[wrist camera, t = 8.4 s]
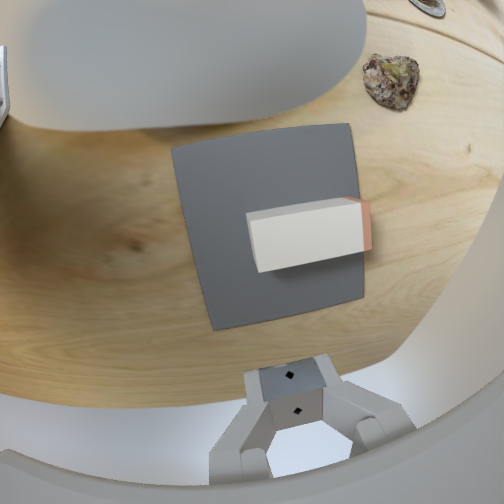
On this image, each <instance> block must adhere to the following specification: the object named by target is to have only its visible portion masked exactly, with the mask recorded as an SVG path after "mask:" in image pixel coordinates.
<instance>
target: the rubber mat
mask: <svg viewBox="0 0 504 504" xmlns="http://www.w3.org/2000/svg"><path fill="white" fill-rule="evenodd" d="M171 153H172V158H173V164H174V169H175V174H176V180H177V185H178V190H179V194H180V199H181V204H182V209H183V213H184V218H185V223H186V227H187V231H188V236H189V240H190V244H191V249H192V253H193V257H194V261H195V265H196V269H197V273H198V277H199V281H200V285H201V288H202V292H203V296H204V300H205V303H206V307H207V310H208V314H209V318H210V321H211V325H212V328H213V331H214V330H220V329H226V328H232V327H237V326H243V325H248V324H253V323H258V322H263V321H268V320H273V319H278V318H282V317H287V316H291V315H296V314H300V313H304V312H309V311H313V310H317V309H321V308H325V307H329V306H333V305H337V304H341V303H345V302H348V301H352V300H356V299H359V298H363V297H364V262H363V251H362V252H357V253H353V254H348V255H344V256H339V257H334V258H330V259H325V260H320V261H315V262H310V263H306V264H301V265H296V266H291V267H286V268H281V269H276V270H271V271H266V272H261V273H259V272H258V269H257V266H256V263H255V260H254V257H253V252H252V246H251V241H250V235H249V229H248V224H247V218H246V213H249V212H255V211H260V210H266V209H272V208H277V207H283V206H289V205H295V204H301V203H308V202H314V201H321V200H327V199H334V198H341V197H348V196H349V197H353V198H357V199H360V198H359V188H358V180H357V172H356V164H355V157H354V150H353V144H352V138H351V132H350V126H349V123H345V124H325V125H311V126H299V127H289V128H280V129H272V130H264V131H257V132H250V133H244V134H238V135H232V136H226V137H221V138H216V139H210V140H205V141H201V142H196V143H191V144H187V145H183V146H178V147H174V148H171Z"/></svg>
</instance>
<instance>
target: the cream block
mask: <svg viewBox="0 0 504 504" xmlns="http://www.w3.org/2000/svg"><path fill="white" fill-rule="evenodd" d="M246 218H247V224H248V229H249V235H250V241H251V246H252V252H253V257H254V260H255V263H256V266H257V269H258V272H259V273H261V272H266V271H271V270H276V269H281V268H286V267H291V266H296V265H301V264H306V263H310V262H315V261H320V260H325V259H330V258H334V257H339V256H344V255H348V254H353V253H357V252H362V251H366V250H371V249H372V236H371V218H370V204H369V201H365V200H361V199H357V198H353V197H349V196H348V197H341V198H334V199H327V200H321V201H314V202H308V203H301V204H295V205H289V206H283V207H277V208H272V209H266V210H260V211H255V212H249V213H246Z"/></svg>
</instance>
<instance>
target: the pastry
mask: <svg viewBox="0 0 504 504" xmlns="http://www.w3.org/2000/svg"><path fill="white" fill-rule="evenodd" d="M410 1H411V2H413V3H414V4H415V5H416V6H417V7H418V8H420V9H421V10H423V11H425V12H427V13H429V14H431V15H433V16H437V17H441V16H443V15H444V14H445V5H444V2H443V0H435V7H434V8H427V7H425V6H423V5H421V4H419V3H418V2H417V1H415V0H410ZM420 1H423V2H426V3H434V0H420Z"/></svg>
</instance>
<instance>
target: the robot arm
mask: <svg viewBox="0 0 504 504" xmlns="http://www.w3.org/2000/svg"><path fill="white" fill-rule="evenodd" d="M9 109H10V100H9V91H8V78H7V47H6V46H0V127H1V125H2V123H3V122H4V120H5V118H6V116H7V114H8V112H9ZM258 370H259V371H258ZM244 382H245V390H246V399H247V405H244V406H243V407H242V408H241V409H240V411H239V412H238V414H237V415H236V416H235V418H234V419H233V421H232V422H231V424H230V425H229V426H228V428H227V429H226V431H225V432H224V433H223V435H222V436H221V437H220V439H219V440H218V442H217V443H216V444H215V446H214V447H213V448H212V450H211V451H210V452H209V485H200V486H177V485H175V486H174V485H154V484H143V483H134V482H126V481H118V480H113V479H107V478H101V477H96V476H92V475H87V474H83V473H78V472H74V471H71V470H67V469H64V468H60V467H57V466H53V465H51V464H47V463H44V462H41V461H39V460H36V459H33V458H30V457H28V456H26V455H23V454H21V453H18V452H16V451H13V450H10V449H6V450H4V451H1V452H0V504H504V371H503V372H501V373H500V374H499V375H498V376H497V377H495V378H494V379H493V380H492V381H491V382H489V383H488V384H487V385H485V386H484V387H483V388H482V389H480V390H479V391H477V392H476V393H475V394H473V395H472V396H471V397H469V398H468V399H466V400H465V401H463V402H462V403H461V404H459V405H457V406H456V407H454V408H453V409H451V410H450V411H448V412H446V413H445V414H443V415H442V416H440V417H438V418H436V419H435V420H433V421H431V422H430V423H428V424H426V425H424V426H423V427H420V428H418V429H417V428H416V427H415V426H414V424H413V422H412V421H411V419H410V418H409V416H408V415H407V413H406V412H405V410H404V409H403V407H402V406H401V404H399V403H396V402H394V401H391V400H389V399H386V398H384V397H382V396H380V395H377V394H375V393H373V392H370V391H368V390H366V389H364V388H361V387H359V386H357V385H355V384H353V383H350V382H348V381H344V382H342V380H341V378H340V376H339V374H338V372H337V370H336V369H335V367H334V365H333V363H332V361H331V359H330V357H329V356H328V354H326V353H324V354H321V355H317V356H314V357H310V358H307V359H303V360H299V361H295V362H291V363H286V364H282V365H277V366H272V367H266V368H260V369H256V370H250V371H244ZM319 420H323V421H324V422H326V423H327V424H328V425H330V426H331V427H333V428H334V429H335V430H337V431H338V432H340V433H341V434H343V435H344V436H345V437H347V438H349V439H350V440H352V441H353V444H352V449H351V453H350V457H349V459H346V460H343V461H340V462H337V463H334V464H330V465H327V466H324V467H320V468H317V469H313V470H309V471H305V472H300V473H296V474H292V475H287V476H282V477H277V478H273V475H272V472H271V469H270V466H269V463H268V460H267V457H266V453H267V451H268V448H269V446H270V444H271V442H272V440H273V438H274V436H275V433H276V431H278V430H282V429H286V428H291V427H294V426H298V425H303V424H307V423H311V422H315V421H319Z"/></svg>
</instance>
